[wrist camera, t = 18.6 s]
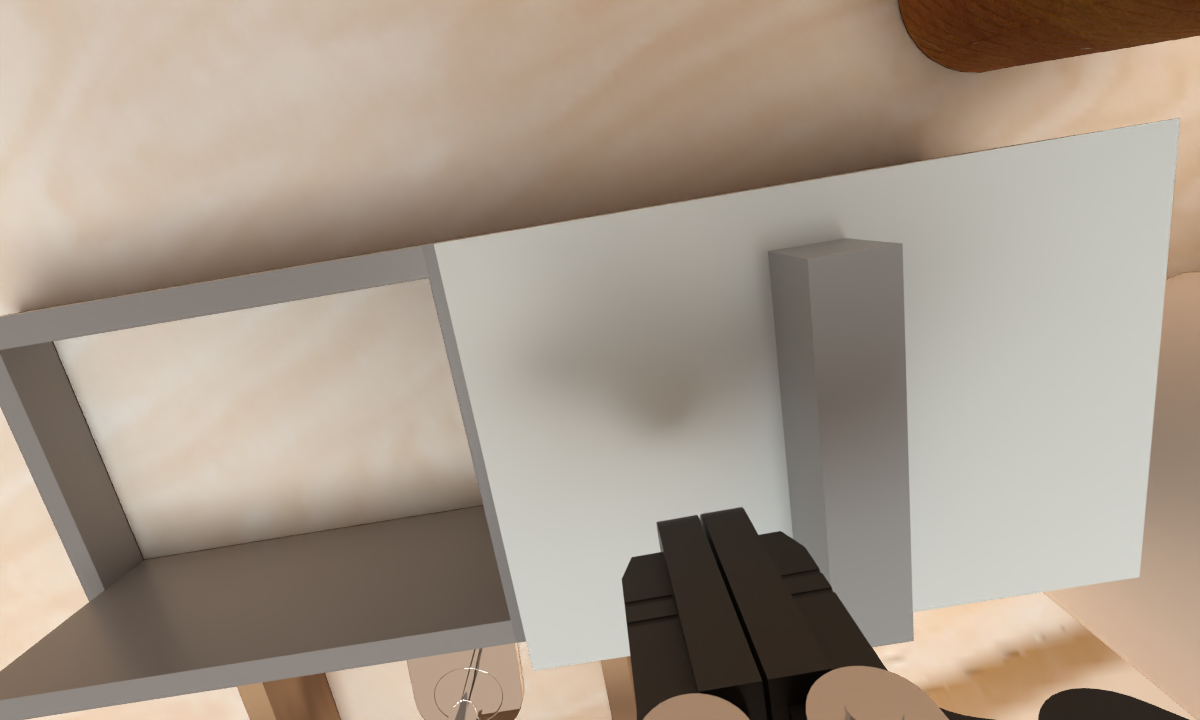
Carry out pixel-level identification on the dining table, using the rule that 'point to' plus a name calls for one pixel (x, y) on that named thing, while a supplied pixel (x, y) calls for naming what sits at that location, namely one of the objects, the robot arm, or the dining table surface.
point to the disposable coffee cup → (1040, 28)
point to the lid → (830, 380)
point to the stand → (469, 684)
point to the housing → (247, 571)
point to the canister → (1162, 525)
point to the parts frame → (309, 715)
